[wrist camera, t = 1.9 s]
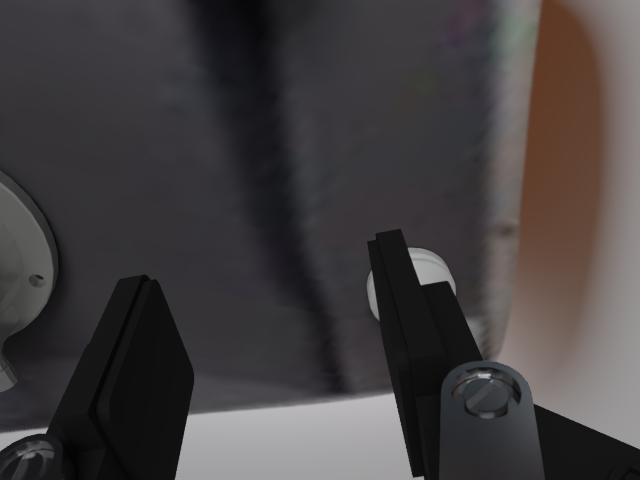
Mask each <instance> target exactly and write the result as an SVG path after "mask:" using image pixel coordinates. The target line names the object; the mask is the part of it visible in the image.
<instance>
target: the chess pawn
mask: <svg viewBox="0 0 640 480" xmlns="http://www.w3.org/2000/svg"><path fill="white" fill-rule="evenodd" d="M408 251H409V254H410V257H411V259H412V262H413V265H414V268H415V271H416V273H417V276H418V279H419V282H420V285H424V284H430V283H436V282H441V281H448V282H449V283H450V285H451V287H452V290H453V292H454V294H455V296H456V288H455V283H454V280H453V278H452V276H451V274H450V272H449V269H448V267H447V265H446V263H445V262H444V261H443V260H442V259H441V257H439V256H438V255H436V254H435V253H433V252H431V251H428V250H425V249H422V248H408ZM367 293H368V298H369V302H370V308H371V310H372V312H373V314H374V316H375V317H376V318H377V319H378V320H379V314H378V307H377V301H376V295H375V288H374V282H373V275H372V270H371V272H370V274H369V276H368V281H367ZM379 321H380V320H379Z"/></svg>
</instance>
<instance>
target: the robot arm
mask: <svg viewBox="0 0 640 480" xmlns="http://www.w3.org/2000/svg"><path fill="white" fill-rule="evenodd" d="M367 243H368V250H369V256H370V263H371V269H372V275H373V282H374V288H375V295H376V301H377V307H378V314H379V320H380V326H381V333H382V339H383V344H384V349H385V354H386V358H387V363H388V367H389V372H390V376H391V381H392V386H393V390H394V395H395V399H396V403H397V408H398V412H399V417H400V422H401V426H402V431H403V435H404V439H405V444H406V448H407V453H408V458H409V462H410V467H411V471H412V475H413V477H421V476H424V480H640V449H638V448H635V447H633V446H631V445H628V444H626V443H624V442H621V441H619V440H617V439H614V438H612V437H610V436H607V435H605V434H603V433H600V432H598V431H596V430H594V429H591V428H589V427H587V426H584V425H582V424H580V423H577V422H575V421H573V420H570V419H568V418H565V417H563V416H561V415H559V414H556V413H554V412H552V411H549V410H547V409H545V408H542V407H540V406H538V405H535V404H533V398H532V392H531V390H530V387H529V384H528V382H527V381H526V380H525V378H524V377H523V376H522V375H521V374H520V373H519V372H517V371H515V370H514V369H513V368H511V367H509V366H507V365H504V364H501V363H498V362H492V361H483V358H482V356H481V354H480V352H479V349H478V347H477V345H476V342H475V340H474V338H473V335H472V333H471V331H470V329H469V326H468V324H467V322H466V319H465V317H464V315H463V313H462V310H461V308H460V306H459V303H458V301H457V299H456V297H455V294H454V292H453V290H452V287H451V285H450V283H449V282H448V281H441V282H436V283H430V284H424V285H420V282H419V279H418V276H417V273H416V271H415V268H414V265H413V262H412V259H411V257H410V254H409V251H408V248H407V245H406V243H405V240H404V237H403V234H402V231H401V229H397V230H392V231H386V232H381V233H376V240H373V241H367ZM57 276H58V252H57V248H56V244H55V240H54V237H53V234H52V232H51V230H50V228H49V225H48V223H47V221H46V219H45V217H44V215H43V214H42V213H41V211H40V210H39V209H38V207H37V206H36V204H35V203H34V202H33V200H32V199H31V198H30V196H29V195H28V194H27V193H26V192H25V191H24V190H23V189H22V188H21V187H20V186H19V185H18V184H17V183H16V182H15V181H13V180H12V179H11V178H10V177H9V176H7V175H6V174H4V173H3V172H2V171H0V392H3V391H6V390H8V389H10V388H11V387H13V386H14V385H15V384H16V383H17V382H18V378H19V377H18V375H17V374H16V372H15V370H14V369H13V367H12V366H11V364H10V362H9V361H8V360H7V359H6V358H5V357H4V355H3V354H2V352H1V351H2V350H3V348H4V345H3V343H4V342H5V340H6V339H7V337H9V336H11V335H12V334H14V333H16V332H18V331H20V330H22V329H24V328H25V327H26V326H27V325H28V324H30V323H31V322H32V321H33V320H34V319H35V318H37V316H38V315H39V313H40V312H41V311H42V309H43V308H44V306H45V305H46V303H47V302H48V300H49V298H50V296H51V294H52V292H53V290H54V288H55V285H56V280H57ZM193 385H194V372H193V368H192V365H191V362H190V360H189V357H188V355H187V352H186V350H185V347H184V345H183V342H182V340H181V337H180V335H179V332H178V330H177V327H176V325H175V322H174V320H173V317H172V315H171V312H170V309H169V307H168V304H167V302H166V299H165V297H164V294H163V292H162V289H161V287H160V284H159V282H158V281H157V280H155V279H154V280H150V278H149V277H148V276H147V275H140V276H134V277H129V278H123V279H120V280H119V281H118V282H117V285H116V287H115V289H114V291H113V293H112V296H111V298H110V300H109V302H108V304H107V306H106V309H105V311H104V313H103V315H102V317H101V319H100V322H99V324H98V326H97V328H96V330H95V332H94V335H93V337H92V339H91V341H90V343H89V344H88V345H87V347H86V348H85V350H84V352H83V354H82V357H81V359H80V361H79V363H78V365H77V367H76V369H75V372H74V374H73V376H72V378H71V380H70V382H69V385H68V387H67V389H66V391H65V393H64V395H63V397H62V400H61V402H60V404H59V406H58V408H57V410H56V413H55V415H54V417H53V419H52V421H51V423H50V425H49V428H48V430H47V432H46V434H35V435H31V436H27V437H25V438H22V439H20V440H18V441H16V442H14V443H12V444H11V445H9V446H7V447H6V448H4V449H3V450H1V451H0V480H175V476H176V471H177V465H178V461H179V456H180V450H181V446H182V441H183V435H184V430H185V426H186V420H187V416H188V411H189V406H190V401H191V396H192V390H193Z"/></svg>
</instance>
